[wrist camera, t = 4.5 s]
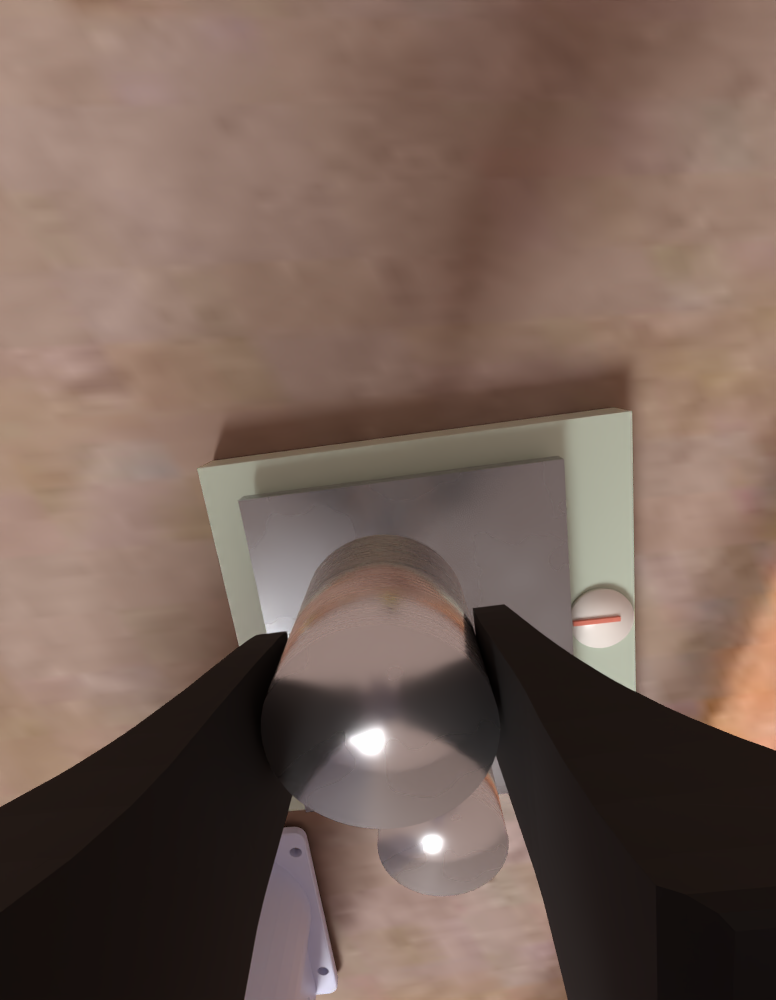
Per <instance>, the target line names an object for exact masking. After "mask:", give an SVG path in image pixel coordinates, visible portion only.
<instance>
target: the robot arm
mask: <svg viewBox="0 0 776 1000" xmlns="http://www.w3.org/2000/svg"><path fill="white" fill-rule="evenodd" d="M473 616H474V625H475V634H476V638H477V641H478V645H479V648H480V651H481V655H482V658H483V661H484V665H485V668H486V671H487V675H488V678H489V681H490V685H491V688H492V691H493V695H494V698H495V701H496V705H497V708H498V713H499V720H500V738H499V744H498V750H497V753H496V758H497V761H498V764H499V767H500V770H501V773H502V776H503V779H504V782H505V785H506V788H507V791H508V793H509V796H510V799H511V802H512V805H513V808H514V811H515V814H516V817H517V820H518V823H519V826H520V829H521V832H522V835H523V838H524V841H525V844H526V847H527V850H528V853H529V856H530V859H531V861H532V864H533V867H534V870H535V874H536V877H537V880H538V884H539V887H540V891H541V894H542V897H543V901H544V905H545V909H546V913H547V917H548V921H549V925H550V929H551V933H552V937H553V941H554V945H555V949H556V953H557V957H558V961H559V965H560V969H561V973H562V977H563V981H564V986H565V990H566V994H567V998H568V1000H776V751H775V750H772V749H770V748H767V747H764V746H761V745H759V744H756V743H753V742H750V741H747V740H745V739H742V738H739V737H737V736H734V735H732V734H729V733H727V732H724V731H722V730H719V729H717V728H714V727H712V726H709V725H707V724H704V723H702V722H700V721H697V720H695V719H692V718H690V717H687V716H685V715H683V714H681V713H678V712H676V711H674V710H672V709H670V708H667V707H665V706H663V705H661V704H659V703H657V702H655V701H653V700H651V699H649V698H647V697H645V696H643V695H641V694H639V693H637V692H635V691H633V690H631V689H629V688H627V687H625V686H623V685H622V684H620V683H618V682H616V681H614V680H613V679H611V678H609V677H607V676H606V675H604V674H602V673H601V672H599V671H597V670H596V669H594V668H593V667H591V666H589V665H588V664H586V663H584V662H583V661H581V660H580V659H578V658H577V657H575V656H573V655H572V654H570V653H569V652H567V651H566V650H565V649H563V648H562V647H560V646H559V645H557V644H556V643H554V642H553V641H552V640H550V639H549V638H548V637H546V636H545V635H543V634H542V633H541V632H539V631H538V630H537V629H536V628H534V627H533V626H532V625H530V624H529V623H528V622H527V621H525V620H524V619H523V618H521V617H520V616H519V615H518V614H516V613H515V612H514V611H513V610H511V609H510V608H509V607H507V606H506V605H505V604H502V605H494V606H486V607H477V608H473ZM287 641H288V635H287V631H283V632H275V633H267V634H259V635H255V636H254V637H252V638H250V639H249V640H247V641H246V642H245V643H243V644H242V645H241V646H239V647H238V648H237V649H235V650H234V651H233V652H232V653H230V654H229V655H228V656H226V657H225V658H224V659H223V660H221V661H220V662H219V663H218V664H217V665H215V666H214V667H213V668H211V669H210V670H209V671H208V672H206V673H205V674H204V675H203V676H201V677H200V678H199V679H198V680H196V681H195V682H194V683H193V684H191V685H190V686H189V687H188V688H186V689H185V690H184V691H182V692H181V693H180V694H178V695H177V696H176V697H174V698H173V699H172V700H170V701H169V702H168V703H166V704H165V705H164V706H162V707H161V708H159V709H158V710H157V711H155V712H154V713H153V714H151V715H150V716H149V717H147V718H146V719H145V720H143V721H142V722H140V723H139V724H138V725H136V726H135V727H134V728H132V729H131V730H129V731H128V732H126V733H125V734H123V735H122V736H120V737H119V738H117V739H116V740H114V741H113V742H111V743H110V744H108V745H107V746H105V747H104V748H102V749H100V750H99V751H97V752H96V753H94V754H92V755H91V756H89V757H88V758H86V759H84V760H83V761H81V762H80V763H78V764H76V765H75V766H73V767H71V768H70V769H68V770H66V771H65V772H63V773H61V774H60V775H58V776H56V777H54V778H52V779H51V780H49V781H47V782H45V783H43V784H42V785H40V786H38V787H36V788H34V789H32V790H31V791H29V792H27V793H25V794H23V795H21V796H20V797H18V798H16V799H14V800H12V801H11V802H9V803H7V804H5V805H3V806H1V807H0V1000H315V999H316V994H329V993H332V992H334V991H335V990H336V989H337V984H338V975H337V970H336V966H335V961H334V957H333V952H332V948H331V943H330V939H329V934H328V930H327V925H326V921H325V916H324V912H323V907H322V902H321V898H320V893H319V889H318V884H317V880H316V875H315V871H314V866H313V862H312V857H311V853H310V848H309V844H308V839H307V835H306V833H305V831H304V830H303V829H301V828H299V827H285V828H284V824H285V821H286V817H287V814H288V810H289V806H290V802H291V799H292V794H291V793H290V792H289V791H288V790H287V789H286V788H285V787H284V786H283V784H282V783H281V782H280V781H279V780H278V778H277V776H276V775H275V773H274V772H273V770H272V768H271V766H270V764H269V762H268V760H267V757H266V754H265V751H264V747H263V744H262V736H261V715H262V709H263V704H264V701H265V698H266V695H267V692H268V690H269V687H270V684H271V682H272V679H273V677H274V674H275V672H276V669H277V666H278V664H279V661H280V659H281V656H282V653H283V651H284V648H285V646H286V643H287ZM295 848H299V849H295Z"/></svg>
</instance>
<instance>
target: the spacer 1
mask: <svg viewBox="0 0 776 1000" xmlns="http://www.w3.org/2000/svg"><path fill="white" fill-rule="evenodd" d="M261 736H262V744H263V747H264V751H265V754H266V757H267V760H268V762H269V764H270V766H271V768H272V770H273V772H274V773H275V775H276V776H277V778H278V780H279V781H280V782H281V783H282V784H283V786H284V787H285V788H286V789H287V790H288V791H289V792H290V793H291V794H292V795H293V796H294V797H295V798H296V799H297V800H298V801H300V802H301V803H303V804H304V805H305V806H307V807H308V808H309V809H311V810H313V811H315V812H317V813H318V814H320V815H322V816H324V817H327V818H329V819H332V820H334V821H337V822H340V823H343V824H347V825H351V826H356V827H362V828H371V829H394V828H402V827H409V826H413V825H417V824H421V823H424V822H427V821H429V820H432V819H435V818H437V817H439V816H441V815H443V814H445V813H447V812H449V811H450V810H452V809H454V808H455V807H457V806H458V805H460V804H461V803H462V802H463V801H464V800H466V799H467V798H468V797H469V796H470V795H471V794H472V793H473V792H474V791H475V790H476V789H477V788H478V787H479V786H480V784H481V783H482V781H483V780H484V778H485V777H486V775H487V774H488V772H489V770H490V768H491V766H492V764H493V762H494V759H495V756H496V753H497V750H498V744H499V738H500V720H499V713H498V708H497V705H496V701H495V698H494V695H493V691H492V688H491V685H490V681H489V678H488V675H487V671H486V668H485V665H484V661H483V658H482V655H481V651H480V648H479V645H478V641H477V638H476V635H475V632H474V628H473V625H472V622H471V618H470V615H469V612H468V608H467V605H466V602H465V598H464V595H463V592H462V588H461V585H460V582H459V580H458V578H457V576H456V574H455V572H454V571H453V569H452V568H451V566H450V565H449V564H448V563H447V562H446V560H445V559H444V558H443V557H442V556H440V555H439V554H438V553H437V552H436V551H434V550H433V549H431V548H430V547H428V546H427V545H425V544H423V543H421V542H419V541H416V540H413V539H410V538H408V537H403V536H398V535H388V534H383V535H371V536H365V537H362V538H358V539H355V540H353V541H350V542H348V543H346V544H344V545H342V546H341V547H339V548H338V549H336V550H335V551H333V552H332V553H331V554H330V555H329V556H327V558H326V559H325V560H324V561H323V562H322V563H321V564H320V566H319V567H318V568H317V570H316V571H315V573H314V575H313V577H312V579H311V581H310V584H309V586H308V589H307V592H306V594H305V597H304V599H303V602H302V604H301V607H300V610H299V612H298V615H297V617H296V620H295V622H294V625H293V628H292V630H291V633H290V635H289V638H288V641H287V643H286V646H285V648H284V651H283V653H282V656H281V659H280V661H279V664H278V666H277V669H276V672H275V674H274V677H273V679H272V682H271V684H270V687H269V690H268V692H267V695H266V698H265V701H264V704H263V709H262V715H261Z"/></svg>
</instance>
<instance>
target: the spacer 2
mask: <svg viewBox="0 0 776 1000" xmlns="http://www.w3.org/2000/svg"><path fill="white" fill-rule="evenodd" d="M508 848H509V840H508V835H507V830H506V826H505V822H504V817H503V813H502V809H501V804H500V800H499V796H498V792H497V787H496V783H495V779H494V774H493V770H492V766H491V768H490V770H489V772H488V774H487V775H486V777H485V778H484V780H483V781H482V783H481V784H480V786H479V787H478V788H477V789H476V790H475V791H474V792H473V793H472V794H471V795H470V796H469V797H468V798H467V799H466V800H464V801H463V802H462V803H461V804H460V805H458V806H457V807H455V808H454V809H452V810H450V811H449V812H447V813H445V814H443V815H441V816H439V817H437V818H435V819H432V820H429V821H427V822H424V823H421V824H417V825H413V826H409V827H402V828H394V829H378V853H379V857H380V860H381V862H382V864H383V866H384V868H385V869H386V871H387V872H388V873H389V874H390V876H391V877H393V878H394V879H395V880H396V881H397V882H399V883H400V884H401V885H403V886H405V887H407V888H408V889H411V890H413V891H416V892H418V893H422V894H426V895H432V896H453V895H459V894H464V893H467V892H470V891H473V890H475V889H477V888H479V887H481V886H483V885H484V884H486V883H487V882H489V881H490V880H491V879H492V878H493V877H494V876H495V875H496V874H497V873H498V872H499V871H500V869H501V868H502V866H503V864H504V862H505V860H506V857H507V854H508Z"/></svg>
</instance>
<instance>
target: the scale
mask: <svg viewBox="0 0 776 1000" xmlns="http://www.w3.org/2000/svg"><path fill="white" fill-rule="evenodd" d="M551 456H560V457H561V458H563V459H564V467H565V488H566V509H567V530H568V551H569V571H570V592H571V613H572V634H573V655H574V656H575V657H577V658H578V659H580V660H581V661H583V662H584V663H586V664H588V665H589V666H591V667H593V668H594V669H596V670H597V671H599V672H601V673H602V674H604V675H606V676H607V677H609V678H611V679H613V680H614V681H616V682H618V683H620V684H622V685H623V686H625V687H627V688H629V689H631V690H633V691H635V692H636V676H635V599H634V521H633V443H632V411H629V410H624V409H619V408H614V407H613V408H605V409H598V410H590V411H583V412H575V413H568V414H560V415H553V416H545V417H538V418H530V419H523V420H515V421H507V422H500V423H492V424H485V425H477V426H470V427H462V428H455V429H447V430H440V431H432V432H425V433H417V434H410V435H402V436H395V437H387V438H380V439H372V440H365V441H357V442H349V443H342V444H334V445H327V446H319V447H312V448H304V449H297V450H289V451H282V452H274V453H267V454H259V455H252V456H244V457H237V458H229V459H222V460H214V461H211V462H209V463H207V464H205V465H203V466H201V467H199V468H197V470H198V474H199V479H200V483H201V487H202V491H203V496H204V500H205V504H206V508H207V513H208V517H209V521H210V525H211V530H212V534H213V538H214V542H215V546H216V551H217V555H218V559H219V563H220V568H221V572H222V576H223V580H224V585H225V589H226V593H227V597H228V602H229V606H230V610H231V614H232V619H233V623H234V627H235V631H236V636H237V640H238V644H239V646H241V645H242V644H243V643H245V642H246V641H247V640H249V639H250V638H252V637H254V636H255V635H259V634H267V632H266V627H265V623H264V618H263V613H262V609H261V604H260V600H259V595H258V591H257V586H256V581H255V577H254V572H253V568H252V563H251V559H250V554H249V549H248V545H247V540H246V536H245V531H244V526H243V522H242V517H241V513H240V508H239V504H238V500H240V499H241V498H242V497H243V496H248V495H256V494H264V493H271V492H279V491H287V490H295V489H302V488H310V487H318V486H326V485H333V484H341V483H349V482H357V481H365V480H372V479H380V478H388V477H396V476H403V475H411V474H419V473H427V472H434V471H442V470H450V469H458V468H466V467H473V466H481V465H489V464H497V463H504V462H512V461H520V460H528V459H535V458H543V457H551ZM296 810H305V806H304V804H303V803H301V802H300V801H298V800H297V799H296V798H295V797H294V796H293V795H292V799H291V802H290V806H289V810H288V811H296Z"/></svg>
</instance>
